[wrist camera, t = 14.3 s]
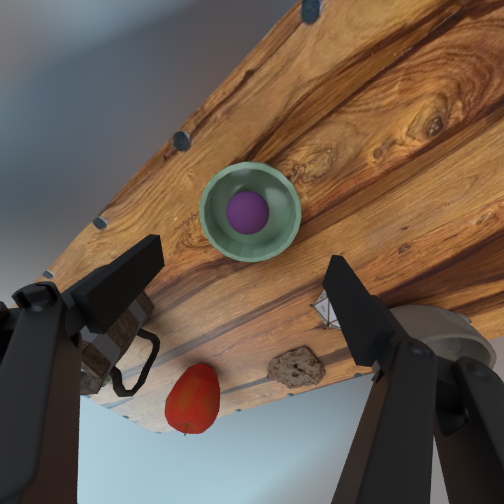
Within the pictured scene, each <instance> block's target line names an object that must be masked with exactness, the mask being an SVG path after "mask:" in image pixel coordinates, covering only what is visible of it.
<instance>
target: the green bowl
mask: <svg viewBox="0 0 504 504" xmlns="http://www.w3.org/2000/svg"><path fill="white" fill-rule="evenodd" d="M242 191H253V192H256V193H258V194H259V195H261V196H262V197H263V198H264V199H265V201H266V202H267V204H268V207H269V219H268V222H267V224H266V225H265V227H264V228H263V229H262V230H261V231H259V232H258V233H255V234H252V235H244V234H240V233H238V232H236V231H235V230H234V229H233V228H232V227H231V226H230V225H229V223H228V221H227V217H226V208H227V205H228V203H229V201H230V199H231V198H232V197H233V196H234V195H236V194H237V193H239V192H242ZM199 214H200V223H201V226H202V228H203V231H204V234H205V236H206V237H207V238H208V240H209V241H210V242H211V244H212V245H213V246H214V247H215V248H216V249H217V250H219V251H220V252H221V253H223V254H224V255H225V256H228V257H230V258H233V259H235V260H238V261H245V262H258V261H264V260H268V259H270V258H272V257H274V256H276V255H279V254H280V253H281V252H283V251H284V250H285V249H286V248H287V247H288V246H289V245H290V244H291V243H292V241H293V239H294V238H295V236H296V234H297V233H298V230H299V226H300V222H301V217H302V215H301V205H300V199H299V197H298V195H297V193H296V190H295V188H294V186H293V184H292V183H291V182H290V181H289V180H288V179H287V178H286V176H285V175H284V174H283V173H282V172H281V171H280V170H279V169H277V168H275V167H274V166H272V165H270V164H267V163H265V162H261V161H251V160H247V161H243V162H239V163H235V164H232V165H230V166H228V167H226V168H224V169H223V170H222V171H220V172H219V173H217V174H216V175H214V176H213V177H212V179H211V180H210V181H209V183H208V184H207V186H206V187H205V188H204V190H203V194H202V197H201V200H200V204H199Z"/></svg>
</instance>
